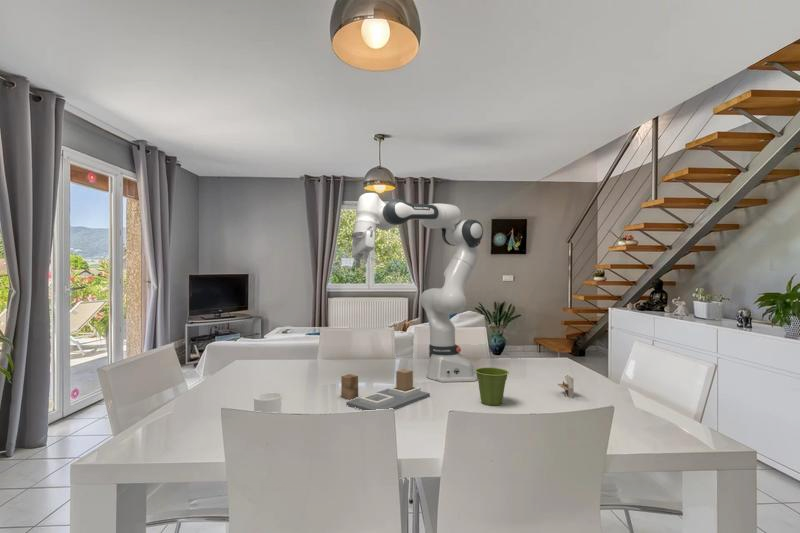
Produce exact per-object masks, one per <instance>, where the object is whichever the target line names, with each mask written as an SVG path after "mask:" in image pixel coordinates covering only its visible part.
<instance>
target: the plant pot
mask: <svg viewBox="0 0 800 533" xmlns="http://www.w3.org/2000/svg"><path fill="white" fill-rule="evenodd" d="M474 372H475V373H476V374H477V379H478V380H477V381H478V382H477V383H478V390H479V395H480V397H479V398H480V401H481V403H482V404H483V405H486V406H500V405H502V404H503V399H504V393H505V387H506V383H507V382H506V381H507V378H508V375H509V373H510V371H508V370H507V369H505V368H500V367H488V366H487V367H477V368H476V369H475V368H474Z"/></svg>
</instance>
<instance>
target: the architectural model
mask: <svg viewBox="0 0 800 533" xmlns="http://www.w3.org/2000/svg"><path fill="white" fill-rule="evenodd" d="M564 378H565V381H564V380H563V381H562V383H556V384H557V386H558V387H560V388H561V389H562V390H564V391H565V392H564V393H565V395H566V397H568V398H569V399H570V398H571V399H572V398H574V395H575V392H574V390H575V389H574V378H573V377H572V376H570V375H569V374H566V375H565V376H564Z"/></svg>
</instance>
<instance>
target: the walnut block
mask: <svg viewBox="0 0 800 533" xmlns="http://www.w3.org/2000/svg"><path fill="white" fill-rule="evenodd" d="M340 377H341V379H340V380H341V382H340V384H341V385H340V388H341V395H340V397H341V399H344V400H347V399H348V400H347V401H351V399H352V400H354V398H355V399H357V398H356V397H358V398H359V375H357V374H354V373H353V374H352V373H349V374H345V375H341V376H340Z"/></svg>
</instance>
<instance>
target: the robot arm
mask: <svg viewBox="0 0 800 533" xmlns="http://www.w3.org/2000/svg"><path fill="white" fill-rule="evenodd" d="M356 205H357V206H356V211H355V214H356V218H355V221H354V225H353V232H352V233H351V240H352V242H351V257H352V259H353V258H354V267H355V268H358V269H359V268H360V267H361V263H362V264H367V263H368V258H369V255H370V252H372V251H374V249H375V245H376V243H375V241H376V235H377V229H378V230H381V231H388V230H390V229H393V228H395V227H397V226H399V225H402V224H404V223H406V222H408V221H410V220H420V222H421V224H422V225H423V226H424V228H427V229H432V230H433V229H441V237H442V240H443V242H444V243H445V244H446V245H449V246H452V247H455V246H456V250H455V253H454V255H453V256H452V257H451V259H450V261H449V262H448V265H447V266H446V268H445V270H444V271H443V278H444V279H445V280H444V284H443V286H442V287H441V288H439V287H433V288H428V289H426V290H424V291H423V292H422V293H421V295H420V297H419V299H420V304H421V307H422V308H423V309H424V312H425V314H426V318H427V320H428V321H427V322H428V326H429V343H430V344H429V345H428V356H429V361H428V362H429V363H428V364H429V365H428V370H427V373H426V377H427V378H428V379H430V380H434V381H438V382H441V383H449V382H450V383H451V382H453V383H454V382H476V381H478V379H477V374H476V372H475V371H474V368H473V365H472V362H471V361H470V360H469V359H468V358H466V357H465V356H464V355H462V354H461V352H462V348H461V347H460V346H459V345H457V344H456V327H455V324H453V322H452V321H451V319H450V315H457V314H460V313H462V312H463V311H464V310H465V308H466V307H467V306H466V305H467V298H466V296H465V290H466V286H467V283H468V280H469V279H470V277H471V276H472V273H473V271H474V269H475V267H476V264H477V262H478V259H479V256H480V251H479V248H478V246H479V245H480V244H481V241H482V238H483V235H484V228H483V225H482V223H481V222H480V221H478V220H477V219H467V220H465V219H464V220H463V219H462V214H461V212H462V211H461V210H460V208H459V207H458V206H457V205H454V204H450V203H440V202H439V203H437V202H436V203H429V204H426V203H412V202H407V201H405V200H404V199H400V198H393V199H390V200H389V201H388V202H387V203H385V202H384V201H383V200H382V199H381V198H380V196H379V194H377V193H375V192H365V193H362V194H361V195H360V196H359V198H358V201H357V204H356Z"/></svg>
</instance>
